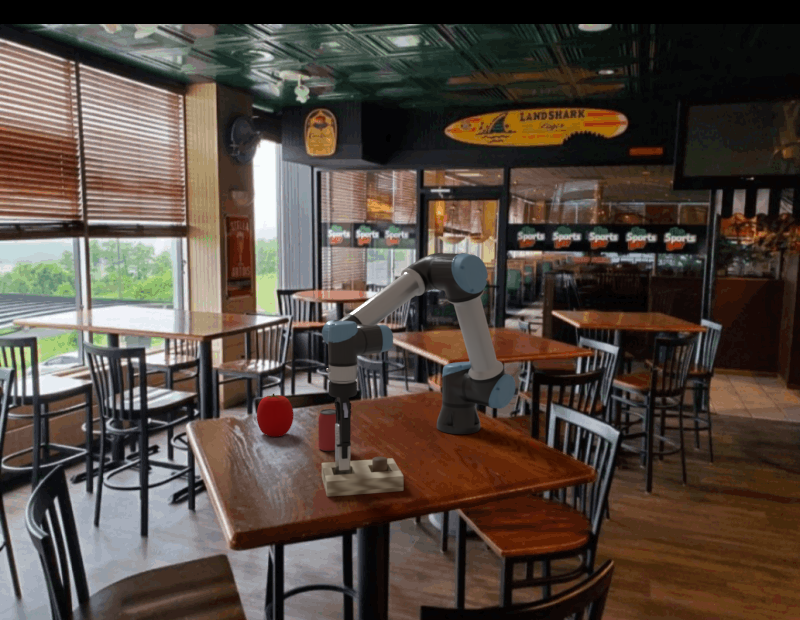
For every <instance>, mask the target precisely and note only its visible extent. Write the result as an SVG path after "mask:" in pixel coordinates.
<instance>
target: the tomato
mask: <svg viewBox="0 0 800 620" xmlns="http://www.w3.org/2000/svg"><path fill="white" fill-rule="evenodd" d="M262 397H263V398H262V399H261V400H259V404H258V406H257V410H256V421H257V425H258V427H259V430H260V432H261V433H263V434H264V435H265V436H269V437H272V438H274V437H275V438H277V437H278V438H279V437H282V436H285V435H286V434H287V433H288V432H289V430H290V429H291V427H292V425H293V422H294V409H293V406H292V403H291V401H290V400H289V399H288V398H287V397H286V396H285V395H281V394H275V393H272V394H271V395H263V396H262Z"/></svg>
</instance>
